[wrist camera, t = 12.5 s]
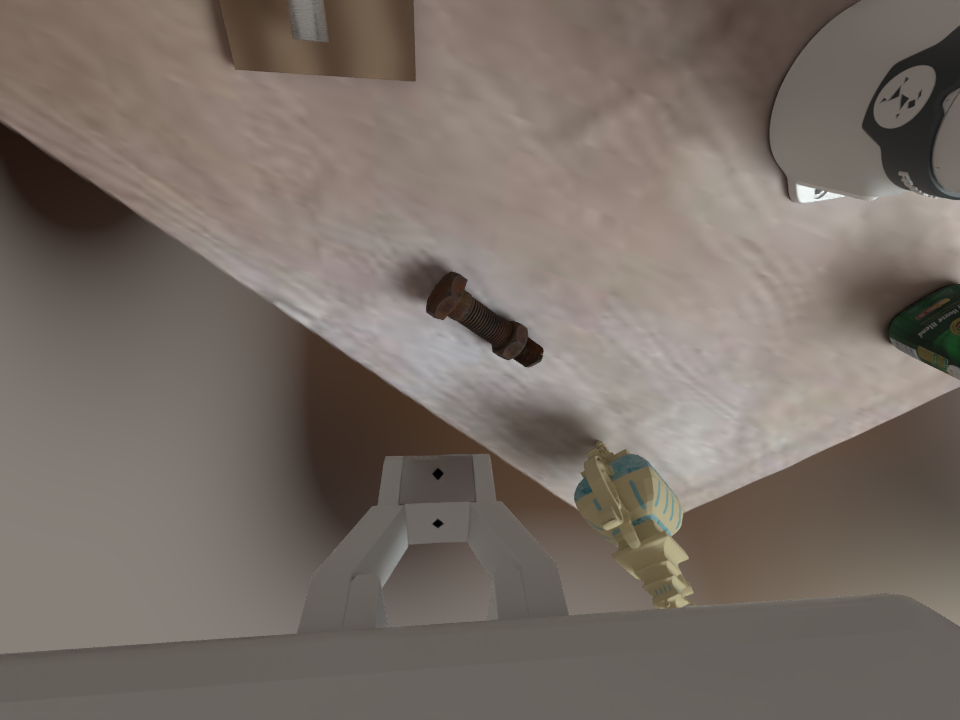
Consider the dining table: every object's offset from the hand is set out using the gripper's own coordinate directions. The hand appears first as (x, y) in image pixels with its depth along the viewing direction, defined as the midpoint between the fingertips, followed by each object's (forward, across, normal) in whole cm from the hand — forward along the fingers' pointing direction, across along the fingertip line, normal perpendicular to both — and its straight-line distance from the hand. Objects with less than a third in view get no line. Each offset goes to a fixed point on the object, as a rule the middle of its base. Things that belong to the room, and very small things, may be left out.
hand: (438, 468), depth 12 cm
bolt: (+34, -6, +14) cm, 38 cm away
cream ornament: (+34, -25, +36) cm, 56 cm away
